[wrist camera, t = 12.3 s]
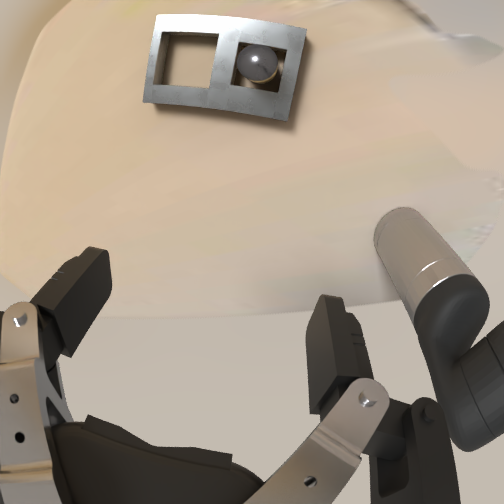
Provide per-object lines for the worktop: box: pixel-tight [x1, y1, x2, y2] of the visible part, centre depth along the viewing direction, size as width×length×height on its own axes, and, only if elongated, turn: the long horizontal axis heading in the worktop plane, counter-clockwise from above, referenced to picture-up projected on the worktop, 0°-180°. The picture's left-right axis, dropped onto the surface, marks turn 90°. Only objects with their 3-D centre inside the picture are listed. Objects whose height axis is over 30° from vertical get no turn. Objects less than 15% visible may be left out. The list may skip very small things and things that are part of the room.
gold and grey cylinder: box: [237, 44, 278, 84], centre depth 28 cm, size 4×4×8 cm
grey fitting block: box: [143, 15, 307, 121], centre depth 30 cm, size 18×12×3 cm, turn 80°
